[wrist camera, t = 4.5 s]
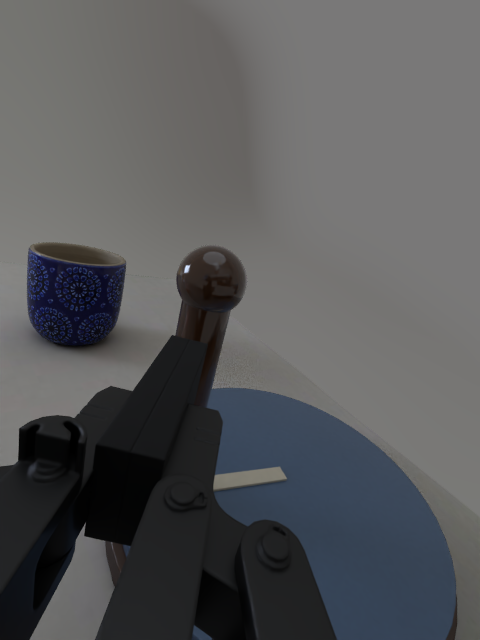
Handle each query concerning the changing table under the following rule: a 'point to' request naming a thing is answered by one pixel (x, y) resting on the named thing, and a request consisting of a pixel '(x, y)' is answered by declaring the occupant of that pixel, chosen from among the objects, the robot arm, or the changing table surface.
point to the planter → (74, 292)
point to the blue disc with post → (318, 484)
